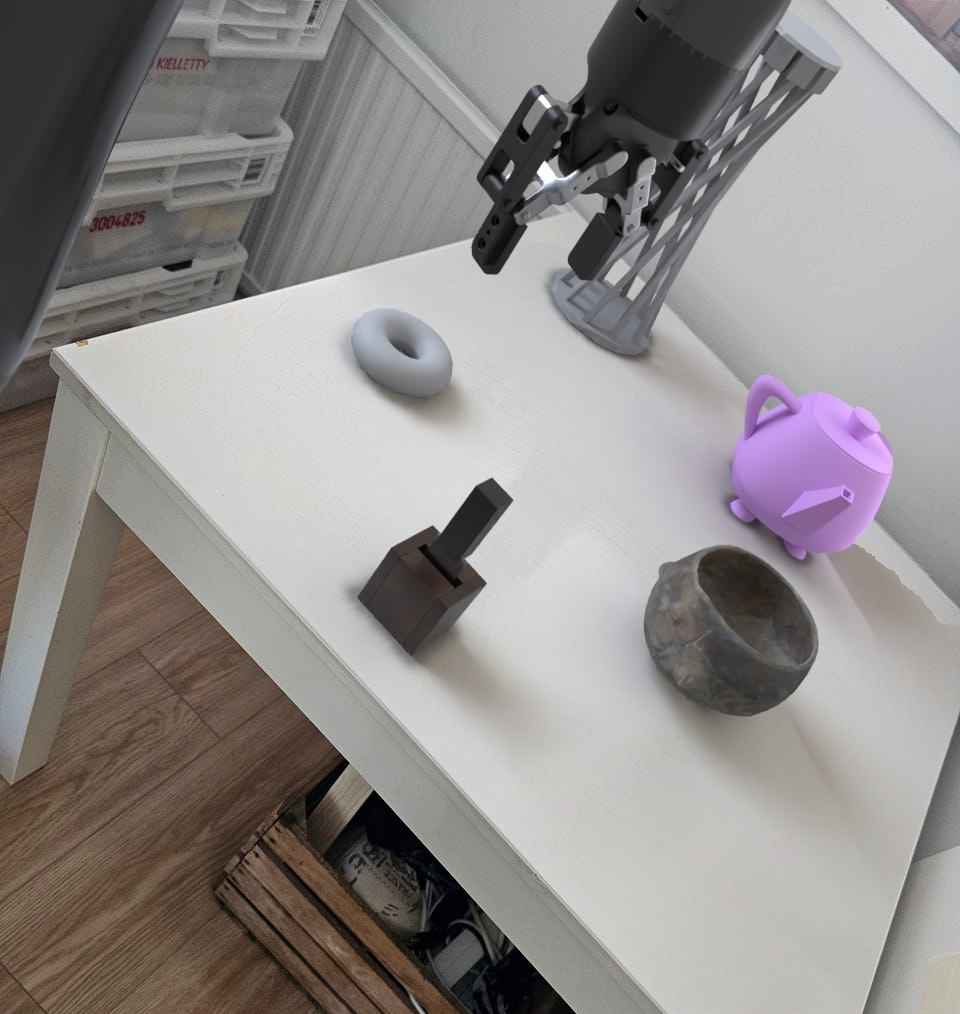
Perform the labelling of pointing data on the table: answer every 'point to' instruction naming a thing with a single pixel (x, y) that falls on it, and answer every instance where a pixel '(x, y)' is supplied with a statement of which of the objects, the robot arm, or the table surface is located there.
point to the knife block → (418, 593)
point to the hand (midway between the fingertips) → (531, 268)
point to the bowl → (729, 631)
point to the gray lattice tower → (629, 322)
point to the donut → (393, 368)
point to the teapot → (809, 468)
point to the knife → (468, 528)
